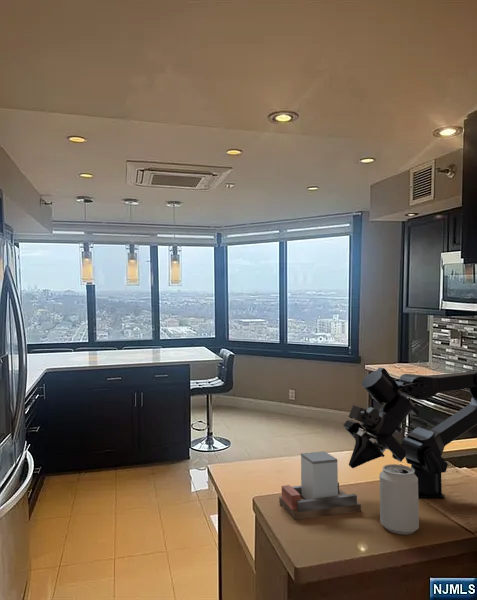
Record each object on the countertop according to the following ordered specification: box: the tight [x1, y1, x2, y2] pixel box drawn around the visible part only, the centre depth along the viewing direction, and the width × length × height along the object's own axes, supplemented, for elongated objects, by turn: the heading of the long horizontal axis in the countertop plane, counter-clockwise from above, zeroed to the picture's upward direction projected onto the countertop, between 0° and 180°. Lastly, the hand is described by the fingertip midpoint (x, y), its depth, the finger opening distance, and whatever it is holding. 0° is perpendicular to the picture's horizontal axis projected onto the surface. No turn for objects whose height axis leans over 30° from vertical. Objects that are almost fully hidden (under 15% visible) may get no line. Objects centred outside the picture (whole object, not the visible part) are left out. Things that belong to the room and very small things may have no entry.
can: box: [379, 463, 420, 535], centre depth 90 cm, size 8×8×12 cm
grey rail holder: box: [278, 482, 362, 521], centre depth 100 cm, size 16×9×4 cm, turn 106°
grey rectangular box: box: [300, 451, 339, 500], centre depth 100 cm, size 6×6×10 cm
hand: (350, 466), depth 103 cm, fingers closed
